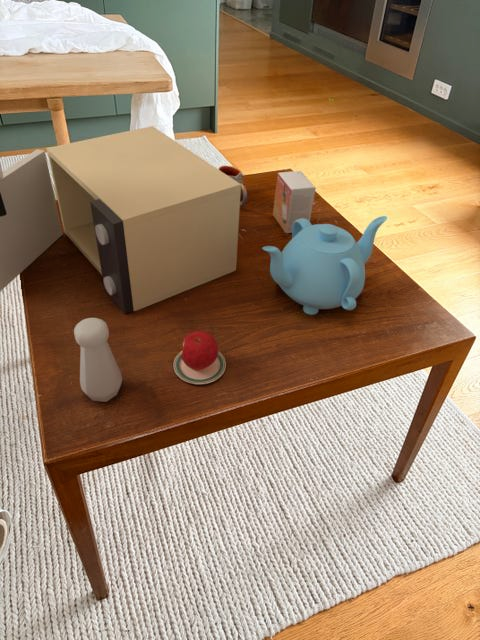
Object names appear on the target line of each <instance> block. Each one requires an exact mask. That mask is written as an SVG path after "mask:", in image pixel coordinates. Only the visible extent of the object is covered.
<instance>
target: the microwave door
mask: <svg viewBox="0 0 480 640" xmlns="http://www.w3.org/2000/svg"><path fill="white" fill-rule="evenodd" d="M49 169H50V168H49V164H48V160H47V155H46V151H45V150H42V149H35V150H33V151H32V152H31V153H29V154H28V155H26V156H24V157H23V158H21V159H19V160H18V161H17V162H15V163H14V164H12V165H10V166H9V167H7V168H6V169H5V170H2V173H3V178H2V180H1V181H0V193H1V196H2V199H3V203H4V206H5V209H6V212H7V214H6V215H5V216H1V217H0V292H2V291H3V290H4V289H5V288H6V287H7V286H8V285H10V283H12V282H13V281H14V280H15V279H16V278H17V277H18V276H19V275H21V273H23V272H24V270H26V269H27V268H28V267H29V266H30V265H31V264H32V263H33V262H34V261H36V259H38V258H39V257H40V256H41V255H42V254H43V253H44V252H46V251H47V249H48V248H50V247H51V246H52V245H53V244H54V243H55V242H56V241H57V240H58V239H60V238H61V237H62V236H63V234H64V233H63V229H62V225H61V221H60V220H61V219H60V215H59V210H58V207H57V206H58V205H57V202H56V201H57V200H56V195H55V192H54V188H53V187H54V186H53V183H52V178H51V174H50V170H49Z"/></svg>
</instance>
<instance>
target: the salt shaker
mask: <svg viewBox="0 0 480 640" xmlns="http://www.w3.org/2000/svg"><path fill="white" fill-rule="evenodd" d="M73 335H74V340H75V342H76V344H78V345H79V346H80V355H79V356H80V358H79V359H80V360H79V385H80V389H81V391H82V392H83V393H84V394H85V395H86V396H87V397H88V398H90V399H91V400H92V401H93V402H103V403H107V402H108V401H111V399H113V398H115V397H116V396H117V395H118V392H119V391H120V388H121V386H122V383H123V376H122V372H121V370H120V367H119V366H118V363H117V361H116V358H115V356H114V354H113V352H112V349H111V347H110V345H109V343H108V339H109V336H110V331H109V327H108V324H107V322H106V321H105V320H103V319H101V318H98V317H88V318H84V319H82V320H80V321H79V322H78V323H77V324H76V325H75V327H74V329H73Z"/></svg>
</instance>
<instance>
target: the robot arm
mask: <svg viewBox="0 0 480 640" xmlns="http://www.w3.org/2000/svg"><path fill="white" fill-rule="evenodd" d="M2 172H3V168H2V165H1V163H0V181H1V180H2V178H3V173H2ZM6 214H7V212H6V209H5V206H4V203H3V199H2V196H1V193H0V217H1V216H5V215H6Z"/></svg>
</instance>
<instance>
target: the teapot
mask: <svg viewBox="0 0 480 640" xmlns="http://www.w3.org/2000/svg"><path fill="white" fill-rule="evenodd" d="M387 220H388V216H386V215H382V216H378V217H376V218H375V219H373V220H371V221H370V223H368V225H367V226H366V229H365V230H364V232H363V233H362V236H360V239H359V240H358V241H356V240H355V238H354V236H353V235H352V234H351V233H350V232H349V231H348V230H345V229H343V228H342V227H339V226H336V225H334V224H332V223H316V224H312V223H311V220H310V221H309V220H307V219H304V218H301V219H297V220H296V221H295V222H294V223H293V228H292V233H291V239H290V240H289V242H288V243H287V244H286V245H285V247H284V248H283V250H282V251H281V250H280V249H279V248H278V247H276V246H274V245H273V246H272V245H265V246H263V247H262V248H261V249H262V250H263V251H264V252H266V253H268V254H269V256H270V265H269V273H270V276H271V278H272V280H273V281H274V282H275V283H276V284H277V285H279V287H280V288H281V290H282V291H283V293H284V294H285V295H286V296H288V297H289V298H290V299H291V300H292V301H294V302H296V303H297V304H299V305H301V306H302V311H303V312H304V313H305V314H307V315H310V316H311V315H313V316H314V315H316V314H318V313H319V310H330V309H331V310H332V309H335V308H340V307H342V308H343V309H344V310H346V311H353V310H354V309H356V307H357V300H356V299H357V298H358V297H359V296H360V295H361V293H362V291H363V289H364V287H365V282H366V267H365V264H366V263H367V262H368V260H369V259H370V258H371V256H372V252H373V248H374V242H375V237H376V234H377V232H378V230H379V228H380V227H381V226H382V225H383V224H384V223H385V222H386V221H387ZM302 228H303V230H302Z"/></svg>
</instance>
